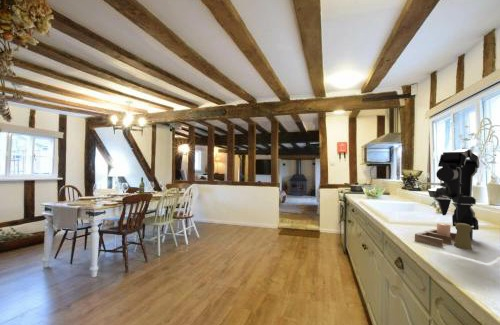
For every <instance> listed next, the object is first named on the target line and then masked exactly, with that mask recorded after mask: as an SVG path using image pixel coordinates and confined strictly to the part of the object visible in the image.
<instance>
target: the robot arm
mask: <svg viewBox="0 0 500 325" xmlns="http://www.w3.org/2000/svg"><path fill="white" fill-rule="evenodd" d="M438 167H439V169H437V171H436V174H435V175H436V178H437V179H438V180H439V181H441V182H440V184H439V186H436V187H432V188H428V189H427V193H428V194H429V198H433V200H434V201H436V202H437V203H438V206H439V208H440V211H441V214H442V216H446V215H447V214H448V211H449V207H450V205H451V203H452V205H453V206H454V207H455V209H454V211H453V213H452V215H451V216H452V217H451V219H452V226H453V227H455V225H456V224H457V223H465V224H468V225H470V226H471V232H470V240H471V241H473V236H474V235H473V233H474V231H478V230H479V229H480V227H479V220H478V219H477V216H476V212H475V211H474V210H473V208H472V207H473V206H474V205H476V203H477V199H476V198H475V197H474V196H472V194H473V193H472V192H473V179H474V178H473V177H474V176H475V175H476V174H477V173H478V170H479V168H480V159H479V156H478V155H476V154H475V153H474V152H473V151H472V149H470V148H459V149H456V150H454V151H453V150H449V151H447V150H445V151H443V152H442V153H441V154H440V157H439V160H438Z"/></svg>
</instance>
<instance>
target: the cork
mask: <svg viewBox="0 0 500 325" xmlns="http://www.w3.org/2000/svg"><path fill="white" fill-rule="evenodd" d="M454 227H455V230H456V232H455V233H456V237H455V242H454V244H453V247H455V248H458V249H463V250H470V251H471V250H472V249H473V248H472V242H471V241H472V240H470V232H471V226H470V225H468V224H465V223H457V224H456V225H455V226H454Z"/></svg>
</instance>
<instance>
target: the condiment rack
mask: <svg viewBox="0 0 500 325" xmlns="http://www.w3.org/2000/svg"><path fill="white" fill-rule="evenodd" d="M455 237H456V232H451V231H450V236H446V235H441V234H437V228H431V229H428V230H424V231H420V232H417V233H414V241H415V242H419V243H422V244H423V243H424V244H427V245H430V246H435V247H439V248H444V247H446V246H448V245H450V244H451V245H452V244H453V243H454V242H455Z"/></svg>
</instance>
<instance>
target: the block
mask: <svg viewBox="0 0 500 325" xmlns="http://www.w3.org/2000/svg"><path fill="white" fill-rule="evenodd" d="M436 229H437V234H441V235H446V236H450V232H451V225H450V224H448V223H441V222H440V223H439V222H438V223H436Z"/></svg>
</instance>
